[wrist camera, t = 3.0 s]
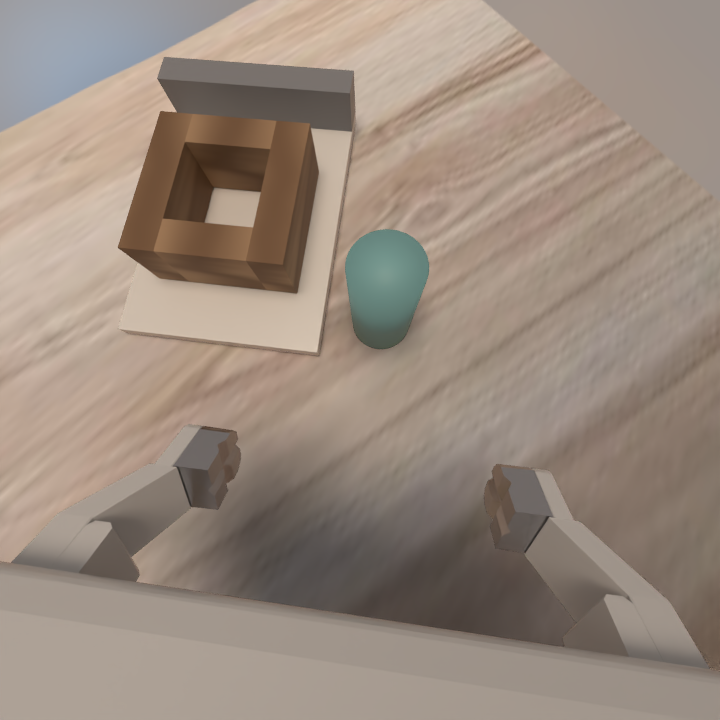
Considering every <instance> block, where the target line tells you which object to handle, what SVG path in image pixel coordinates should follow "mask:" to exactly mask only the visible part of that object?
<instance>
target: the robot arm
mask: <svg viewBox="0 0 720 720" xmlns="http://www.w3.org/2000/svg"><path fill="white" fill-rule="evenodd" d="M237 440H238V436H237V432H236V431H233V430H226V429H220V428H213V427H207V426H199V425H192V424H188V425H186V426H184V427H183V428H182V430H181V431H180V432H179V434H178V435H177V436H176V437H175V439H174V440H173V441H172V442H171V444H170V445H169V446H168V447H167V449H166V450H165V451H164V452H163V454H162V455H161V456H160V458H159V459H158V460H157V461H156V463H155V464H148V465H146V466H144V467H142V468H140V469H139V470H137V471H135V472H133V473H131V474H129V475H128V476H126V477H124V478H122V479H120V480H118V481H116V482H115V483H113V484H111V485H109V486H107V487H105V488H104V489H102V490H100V491H98V492H96V493H94V494H93V495H91V496H89V497H87V498H85V499H83V500H81V501H80V502H78V503H76V504H74V505H72V506H70V507H69V508H67V509H65V510H63V511H61V512H59V513H58V514H57V515H56V516H55V517H54V518H53V519H52V520H51V521H50V522H49V523H48V524H47V525H46V526H45V527H44V528H43V530H42V531H41V532H40V533H39V534H38V535H37V536H36V537H35V538H34V539H33V540H32V541H31V542H30V543H29V544H28V545H27V546H26V547H25V548H24V550H23V551H22V552H21V553H20V554H19V555H18V556H17V557H16V558H15V559H14V560H13V561H12V562H11V563H9V562H2V561H0V720H720V671H718V670H712V669H710V668H709V667H708V665H707V663H706V662H705V660H704V658H703V657H702V655H701V653H700V652H699V650H698V648H697V647H696V645H695V643H694V642H693V640H692V638H691V637H690V635H689V633H688V631H687V630H686V628H685V626H684V625H683V623H682V621H681V620H680V618H679V616H678V615H677V613H676V611H675V610H674V608H673V606H672V605H671V603H670V602H669V601H668V600H667V599H666V598H665V597H664V596H663V595H661V594H660V593H659V592H658V591H657V590H656V589H655V588H654V587H653V586H651V585H650V584H649V583H648V582H647V581H646V580H645V579H644V578H642V577H641V576H640V575H639V574H638V573H637V572H636V571H635V570H634V569H632V568H631V567H630V566H629V565H628V564H627V563H626V562H625V561H623V560H622V559H621V558H620V557H619V556H618V555H617V554H616V553H615V552H613V551H612V550H611V549H610V548H609V547H608V546H607V545H606V544H604V543H603V542H602V541H601V540H600V539H599V538H598V537H597V536H596V535H594V534H593V533H592V532H591V531H590V530H589V529H588V528H587V527H585V526H584V525H583V524H582V523H581V522H580V521H575V520H574V519H573V517H572V515H571V513H570V511H569V508H568V506H567V504H566V502H565V500H564V498H563V496H562V494H561V492H560V490H559V488H558V486H557V484H556V481H555V479H554V477H553V475H552V473H551V472H550V471H549V470H543V469H535V468H528V467H520V466H511V465H502V464H496V465H495V466H494V468H493V470H492V475H493V478H492V479H491V480H489V481H487V484H486V487H485V492H484V503H485V508H486V512H487V514H488V515H489V516H490V517H491V518H492V519H493V521H492V523H491V525H490V529H491V533H492V538H493V542H494V546H495V549H501V550H507V551H513V552H519V553H525V556H526V558H527V559H528V560H529V561H530V563H531V564H532V565H533V567H534V568H535V569H536V571H537V572H538V573H539V575H540V576H541V577H542V579H543V580H544V581H545V583H546V584H547V585H548V587H549V588H550V589H551V590H552V592H553V593H554V594H555V596H556V597H557V598H558V600H559V601H560V602H561V604H562V605H563V606H564V608H565V609H566V610H567V612H568V613H569V614H570V616H571V617H572V618H573V619H574V621H575V622H576V624H575V625H574V626H573V627H572V628H571V629H570V630H569V631H568V632H567V633H566V634H565V635H564V637H563V638H562V640H563V643H564V646H565V647H560V646H554V645H547V644H541V643H534V642H528V641H521V640H514V639H508V638H501V637H495V636H488V635H482V634H475V633H469V632H462V631H456V630H449V629H442V628H436V627H429V626H423V625H416V624H410V623H403V622H397V621H390V620H383V619H377V618H370V617H364V616H357V615H351V614H344V613H338V612H331V611H324V610H318V609H311V608H305V607H298V606H292V605H285V604H279V603H272V602H265V601H259V600H252V599H246V598H239V597H232V596H226V595H219V594H213V593H206V592H200V591H193V590H186V589H180V588H173V587H167V586H160V585H154V584H147V583H140V582H136V581H137V579H138V577H139V576H140V574H139V570H138V568H137V566H136V564H135V563H134V561H133V559H132V558H131V557H132V556H133V555H134V554H136V553H137V552H138V551H139V550H141V549H142V548H143V547H144V546H145V545H147V544H148V543H149V542H150V541H152V540H153V539H154V538H155V537H156V536H158V535H159V534H160V533H161V532H163V531H164V530H165V529H166V528H167V527H169V526H170V525H171V524H172V523H174V522H175V521H176V520H177V519H178V518H180V517H181V516H182V515H183V514H185V513H186V512H187V511H188V510H189V509H191V507H198V508H207V509H216V510H218V509H219V507H220V505H221V503H222V501H223V500H224V498H225V496H226V494H227V492H228V488H227V483H228V482H230V481H231V480H233V479H234V478H235V476H236V474H237V472H238V469H239V465H240V461H241V452H240V448H239V447H238V446H237V445H236V442H237Z"/></svg>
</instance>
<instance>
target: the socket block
mask: <svg viewBox="0 0 720 720" xmlns="http://www.w3.org/2000/svg"><path fill="white" fill-rule="evenodd" d="M318 175H319V169H318V163H317V158H316V153H315V147H314V142H313V137H312V131H311V126H310V123H298V122H286V121H274V120H261V119H249V118H237V117H225V116H213V115H201V114H188V113H176V112H164V111H160V114H159V117H158V121H157V124H156V127H155V130H154V133H153V137H152V140H151V143H150V146H149V149H148V153H147V156H146V159H145V162H144V165H143V169H142V172H141V175H140V178H139V181H138V184H137V188H136V191H135V194H134V197H133V200H132V204H131V207H130V210H129V213H128V216H127V220H126V223H125V226H124V229H123V232H122V236H121V239H120V242H119V245H118V248H119V249H120V250H122V251H123V252H124V253H126V254H127V255H128V256H130V257H131V258H133V259H134V260H135V261H137V262H138V263H139V264H141V265H142V266H143V267H145V268H146V269H147V270H149V271H150V272H151V273H153V274H154V275H155V276H157V277H158V278H160V279H170V280H179V281H188V282H197V283H206V284H215V285H225V286H234V287H243V288H252V289H261V290H271V291H280V292H289V293H297V292H298V287H299V281H300V276H301V270H302V264H303V259H304V253H305V248H306V242H307V236H308V231H309V225H310V220H311V214H312V208H313V203H314V197H315V192H316V186H317V180H318ZM213 187H217V188H228V189H238V190H249V191H260V192H261V194H260V198H259V203H258V207H257V212H256V216H255V221H254V226H253V227H243V226H233V225H223V224H213V223H204V222H205V218H206V214H207V210H208V206H209V202H210V198H211V194H212V190H213Z"/></svg>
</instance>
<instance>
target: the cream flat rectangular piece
mask: <svg viewBox="0 0 720 720" xmlns="http://www.w3.org/2000/svg"><path fill="white" fill-rule="evenodd" d="M157 79H158V81H159V82H160V84H161V86H162V87H163V89H164V91H165V92H166V94H167V96H168V98H169V99H170V101H171V103H172V104H173V106H174V108H175V109H176V111H177V113H188V114H201V115H213V116H225V117H237V118H249V119H261V120H274V121H286V122H298V123H310V126H311V131H312V137H313V142H314V147H315V153H316V158H317V163H318V169H319V175H318V180H317V186H316V192H315V197H314V203H313V208H312V214H311V220H310V225H309V231H308V236H307V242H306V248H305V253H304V259H303V264H302V270H301V276H300V281H299V287H298V292H297V293H289V292H280V291H271V290H261V289H252V288H243V287H234V286H225V285H215V284H206V283H197V282H188V281H179V280H170V279H160V278H158V277H157V276H155V275H154V274H153V273H151V272H150V271H149V270H147V269H146V268H145V267H143V266H142V265H141V264H139V263H138V262H137V266H136V269H135V273H134V276H133V279H132V283H131V286H130V289H129V293H128V296H127V300H126V303H125V306H124V310H123V313H122V316H121V320H120V323H119V327H118V329H119V330H121V331H124V332H126V333H130V334H138V335H147V336H155V337H164V338H172V339H181V340H189V341H198V342H206V343H214V344H223V345H231V346H240V347H248V348H257V349H265V350H274V351H282V352H291V353H299V354H308V355H316V356H319V354H320V347H321V341H322V335H323V328H324V322H325V316H326V309H327V303H328V296H329V290H330V284H331V277H332V271H333V265H334V258H335V252H336V245H337V239H338V233H339V226H340V220H341V214H342V207H343V201H344V194H345V188H346V182H347V175H348V169H349V163H350V156H351V150H352V143H353V137H354V131H355V124H356V116H355V91H354V71H348V70H334V69H321V68H307V67H294V66H280V65H266V64H253V63H239V62H225V61H212V60H198V59H184V58H171V57H164V59H163V62H162V65H161V68H160V72H159V75H158V78H157ZM260 194H261V192H260V191H249V190H238V189H228V188H217V187H213V190H212V194H211V198H210V202H209V206H208V210H207V214H206V218H205V222H204V223H213V224H223V225H233V226H243V227H253V226H254V221H255V216H256V212H257V207H258V203H259V198H260Z"/></svg>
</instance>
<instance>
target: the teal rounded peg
mask: <svg viewBox="0 0 720 720" xmlns="http://www.w3.org/2000/svg"><path fill="white" fill-rule="evenodd" d="M345 272H346V279H347V286H348V293H349V301H350V308H351V315H352V322H353V328H354V331H355V333H356V335H357V337H358V338H359V339H360V341H361V342H363V343H364V344H365V345H367V346H369V347H372V348H376V349H386V348H390V347H393V346H395V345H397V344H398V343H399V342H400V341H402V339H403V338H404V337H405V335H406V333H407V331H408V328H409V326H410V323H411V320H412V318H413V315H414V313H415V310H416V307H417V305H418V302H419V300H420V297H421V294H422V292H423V289H424V286H425V284H426V281H427V278H428V274H429V262H428V258H427V255H426V253H425V251H424V249H423V247H422V246H421V245H420V244H419V242H417V241H416V240H415V239H414V238H413V237H411V236H410V235H408V234H406V233H403V232H400V231H397V230H388V229H385V230H377V231H374V232H370V233H368V234H366V235H364V236H363V237H361V238H360V239H359V240H358V241H357V242H356V243H355V244H354V245H353V246H352V247H351V249H350V251H349V253H348V255H347V258H346V263H345Z"/></svg>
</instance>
